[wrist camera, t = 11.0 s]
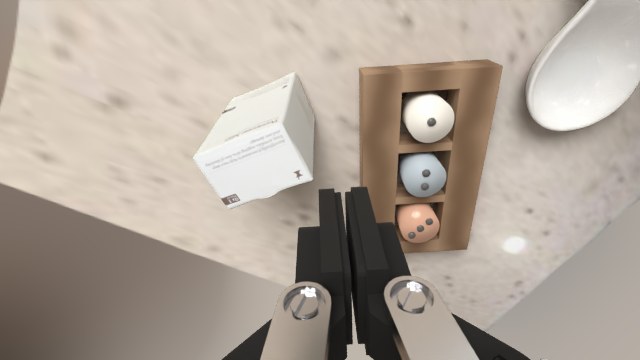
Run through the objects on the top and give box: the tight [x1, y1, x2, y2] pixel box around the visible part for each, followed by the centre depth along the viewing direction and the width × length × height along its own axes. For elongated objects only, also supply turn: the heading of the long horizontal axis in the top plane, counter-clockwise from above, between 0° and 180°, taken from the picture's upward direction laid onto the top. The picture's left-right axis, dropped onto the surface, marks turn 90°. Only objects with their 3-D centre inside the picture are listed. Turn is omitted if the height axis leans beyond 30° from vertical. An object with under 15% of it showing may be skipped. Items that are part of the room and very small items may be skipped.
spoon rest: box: [525, 0, 640, 131], centre depth 33 cm, size 24×12×7 cm, turn 13°
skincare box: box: [193, 72, 315, 209], centre depth 34 cm, size 8×6×15 cm
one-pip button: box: [401, 90, 454, 143], centre depth 38 cm, size 5×5×5 cm
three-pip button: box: [395, 203, 440, 243], centre depth 45 cm, size 5×5×5 cm
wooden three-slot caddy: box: [359, 60, 503, 253], centre depth 42 cm, size 14×24×4 cm, turn 3°
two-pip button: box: [398, 151, 446, 197], centre depth 42 cm, size 5×5×5 cm
